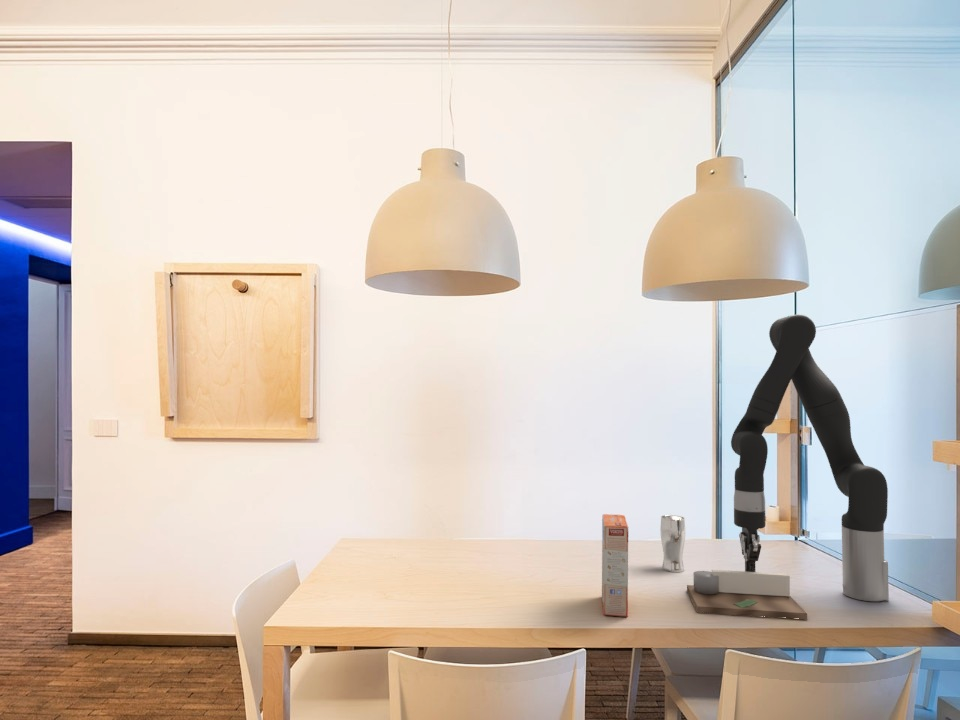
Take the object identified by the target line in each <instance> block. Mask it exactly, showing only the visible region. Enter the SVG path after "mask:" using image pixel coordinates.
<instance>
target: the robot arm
mask: <svg viewBox="0 0 960 720" xmlns="http://www.w3.org/2000/svg"><path fill="white" fill-rule="evenodd" d="M768 334H769V339H770V342H771V345H772V347H773V348H774V350H775V355H774V357H773V359H772V361H771V363H770V364H769V367H768V369H767V370H766V371H765V373H764V375H763V376H762V378H761V379H760V380H759V381H758V383H757V385H756V387H755V389H754V391H753V393H752V395H751V398H750V400H749V403H748V405H747V408H746V411H745V413H744V415H743V417H742V418H741V419H740V421H739V422H738V423H737V424H738V425H736V428H735V429H734V431H733V433H732V435H731V439H730V444H731V445H730V446H731V449H732V451H733V453H735V454H737V455H738V456H739V465H738V467H736V469H735V471H734V494H733V524H734V525H735V526H737V527H739V528H741V531H740V532H739V534H738V536H739V542H740V548H741V555H742V556H743V559H744V572H756V562H758V561H759V558H760V555H761V554H760V553H761V549H762V545H761V544H760V540H761V539H760V534H759V533H758V530H759V529H760V530H761V529H763V528H764V529H765V527H766V498H765V496H766V495H765V491H764V490H765V483H764V482H765V478H764V473H765V469H766V465H767V459H768V454H769V453H768V452H769V449H768V442H767V440H766V438H765V437H764V435H763V433H764V431H766V430H765V429H766V428H767V427H769V426H771V425H772V424H773V423H774V421H775V419H776V416H777V414H778V411H779V409H780V406H781V404H782V401H783V399H784V396H785V393H786V392H787V390H788V387H789V385H790V383H791V381H792V383H793V386H794V389H795V391H796V393H797V395H798V397H799V400H800V402H801V405H802V407H803V409H804V412H805V414H806V416H807V417H808V420H809V422H810V424H811V426H812V428H813V430H814V432H815V434H816V436H817V438H818V440H819V442H820V444H821V447H822V448H823V450H824V453H825V455H826V458H827V460H828V461H827V462H828V463H829V466H830V467H829V468H830V470H831V473H832V475H833V476H832V477H833V480H834V481H835V485H836V487H837V489H839V491H840V493H842V494H843V495H844V496H846V497H847V498H848V504H847V505H848V506H847V507H848V508H847V511H846V512H845V513H843V514H842V515H841V552H842V553H841V557H842V558H841V560H842V563H841V564H842V565H841V566H842V570H841V571H842V593H843V594H844V595H845V596H847V597H850V598H852V599H854V600H855V599H856V600H859V601H865V602H882V601H883V602H884V601H890V600H889V599H890V597H889V595H890V594H889V589H890V588H889V563H888V561H887V560H885V532H884V531H885V526H884V525H885V522H886V521H887V518H888V517H887V516H888V503H889V501H888V496H889V495H888V494H889V490H888V483H887V479H886V476H885V475H884V474H883V473H882V472H881V471H880V470H879V469H877V468H875V467H872V466H869V465H865V464H864V463H863V461H862V459H861V457H860V456H859V454H858V452H857V450H856V448H855V445H854V444H853V443H854V442H853V440H852V432H851V431H852V430H851V418H850V414H849V411H848V408H847V405H846V403H845V402H844V399H843V397H842V396H841V393H840V392H839V390H838V388H837V386H836V385H835V384H834V382H832V380H831V379H830V378H829V377H828V376H827V374H826V373H825V372H824V371H823V370H822V369H821V368H820V367H819V366H818V365H817V363H816V361H815V358H813V356H812V353H811V351H810V347H811V345H812V344H813V342H814V340H815V338H816V334H817V327H816V325H815V323H814V321H813V320H812V319H811V318H810V317H809V316H807V315H805V314H792V315H788V316H784V317H781V318H778V319H776V320H775V321H774V322H773V323H772V324H771V326H770V328H769V332H768Z"/></svg>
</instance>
